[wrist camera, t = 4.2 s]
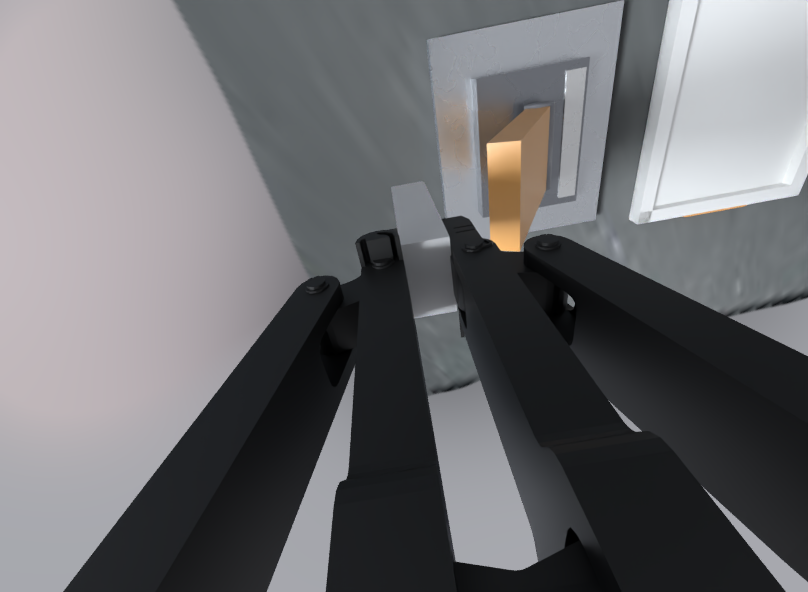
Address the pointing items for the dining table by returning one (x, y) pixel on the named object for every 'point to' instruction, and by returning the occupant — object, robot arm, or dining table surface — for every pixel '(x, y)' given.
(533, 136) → the block
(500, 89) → the panel
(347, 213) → the dining table surface
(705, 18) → the tray
